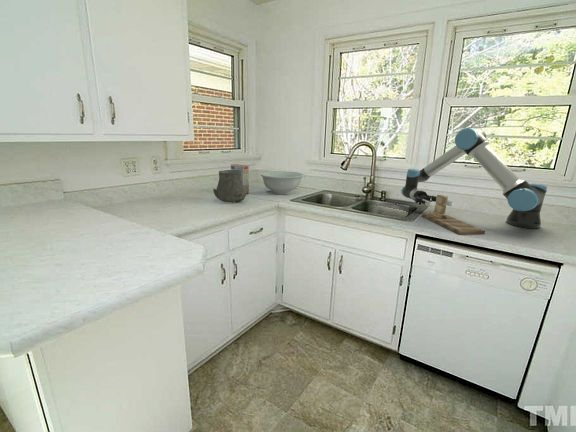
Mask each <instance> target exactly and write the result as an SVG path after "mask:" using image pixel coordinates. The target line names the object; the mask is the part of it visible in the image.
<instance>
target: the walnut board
mask: <svg viewBox="0 0 576 432" xmlns="http://www.w3.org/2000/svg"><path fill="white" fill-rule="evenodd" d="M420 215H421V216H420V217H422V218H424V219H427V220H428V221H429V222H430V221H431V222H433V223H434V224H437V225H439V226H441V227H443V228H444V229H447V230H449V231H451V232H452V233H455V234H458V235H462V236H463V235H485V234H486V230H484V229H482V228H480V227H477V226H474V225H473V224H470V223H467V222H465V221H462V220H460V219H458V218H456V217H453V216H450V215H448V218H438V217H435V216H433V215H431V214H430V212H427V213H426V212H423V213H421V214H420Z"/></svg>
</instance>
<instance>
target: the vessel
mask: <svg viewBox="0 0 576 432" xmlns="http://www.w3.org/2000/svg"><path fill="white" fill-rule="evenodd" d="M241 174H242V171H240V170H231V169H225V170H218V181H217V186H216V188H213V189H212V190H213V194H214V196H215V197H216V199H218V200H219V201H222V202H225V203H238V202H242V201H244V200H245V199H246V195H247V194H245V190H244V187H243V184H242V179H241Z"/></svg>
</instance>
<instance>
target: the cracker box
mask: <svg viewBox="0 0 576 432" xmlns="http://www.w3.org/2000/svg"><path fill="white" fill-rule="evenodd" d="M230 170H240V171H242V174H241V179H242V184H243V187H244V190H245V194H246V195H248V194H250V193H249V191H250V189H249V187H250V182H249V180H250V179H249V178H250V177H249V175H250V173H249V171H250V170H249V165H246V164H239V163H232V164H230Z"/></svg>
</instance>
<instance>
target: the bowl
mask: <svg viewBox="0 0 576 432" xmlns="http://www.w3.org/2000/svg"><path fill="white" fill-rule="evenodd" d="M260 176H261V177H262V180H263V181H262V182H263V185H264V186H265V187H266V188H267V189H268V190H270V191H271V193H272V194H275V195H290V194H292V193H293V191H294V190H296V189H297V188H299V187H300V185H301V181H302V178H303V177H304V174H303V173H301V172H297V171H295V172H294V171H286V170H285V171H283V170H282V171H281V170H279V171H278V170H277V171H276V170H274V171H271V170H270V171H264V172H261V173H260Z"/></svg>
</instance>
